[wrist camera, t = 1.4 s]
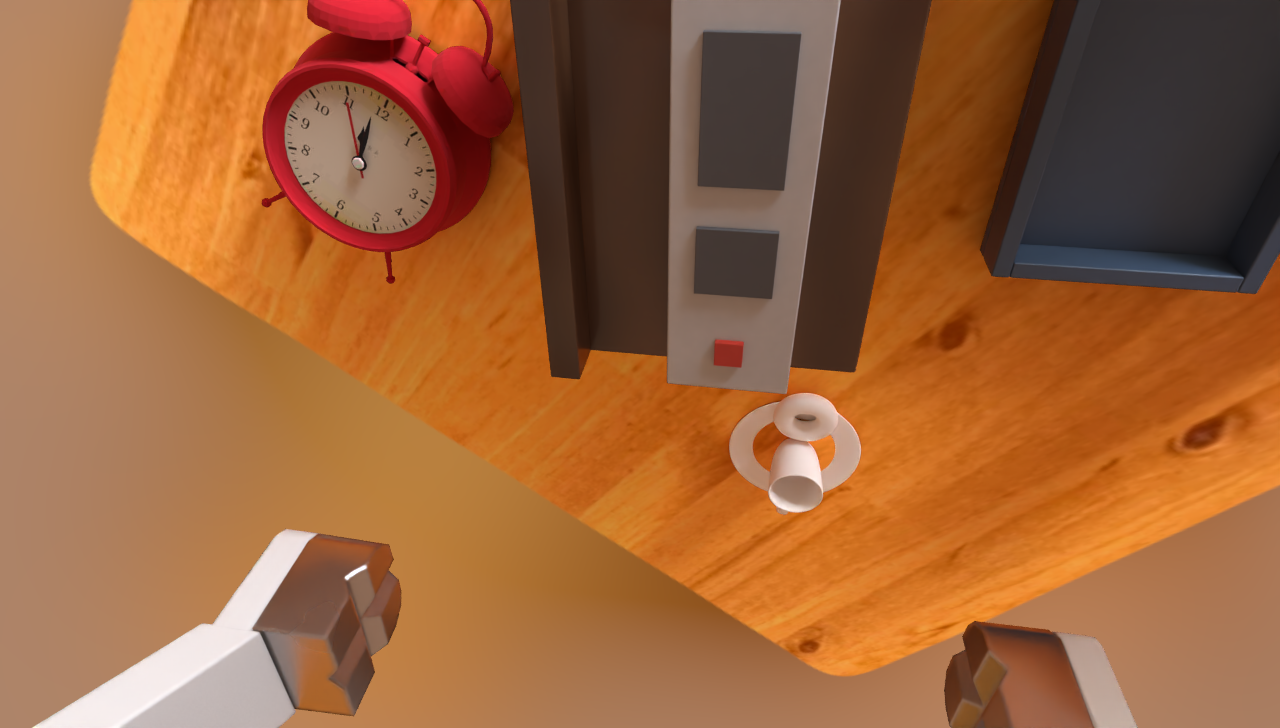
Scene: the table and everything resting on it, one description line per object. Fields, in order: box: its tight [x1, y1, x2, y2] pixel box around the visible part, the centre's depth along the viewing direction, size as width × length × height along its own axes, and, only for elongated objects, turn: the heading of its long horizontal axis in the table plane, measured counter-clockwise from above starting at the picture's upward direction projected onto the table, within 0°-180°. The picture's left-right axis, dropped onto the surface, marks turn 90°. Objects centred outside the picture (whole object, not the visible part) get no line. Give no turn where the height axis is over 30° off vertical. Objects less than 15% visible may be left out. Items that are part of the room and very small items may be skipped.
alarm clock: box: [262, 0, 514, 284], centre depth 34 cm, size 10×6×15 cm
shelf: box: [510, 0, 932, 379], centre depth 28 cm, size 12×17×12 cm
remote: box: [667, 0, 841, 394], centre depth 24 cm, size 15×4×3 cm, turn 0°
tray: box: [980, 0, 1280, 294], centre depth 28 cm, size 11×20×3 cm, turn 0°
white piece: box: [729, 393, 861, 515], centre depth 44 cm, size 9×8×4 cm
